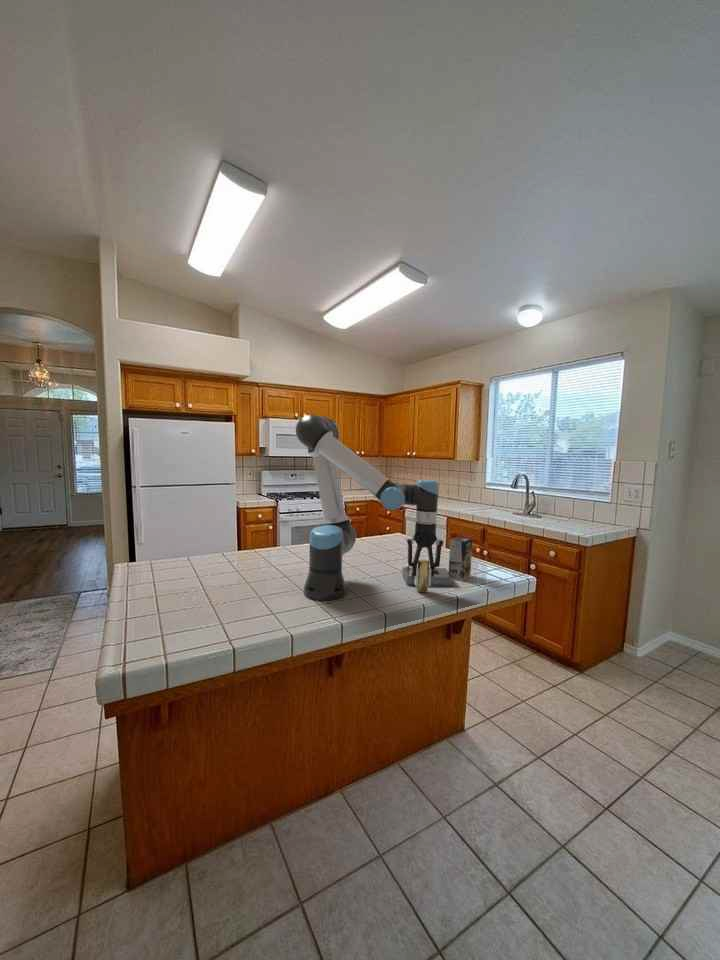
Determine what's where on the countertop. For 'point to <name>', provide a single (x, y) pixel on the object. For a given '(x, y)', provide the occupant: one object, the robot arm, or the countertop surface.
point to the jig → (438, 579)
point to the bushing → (423, 575)
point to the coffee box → (460, 558)
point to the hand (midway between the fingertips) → (422, 584)
